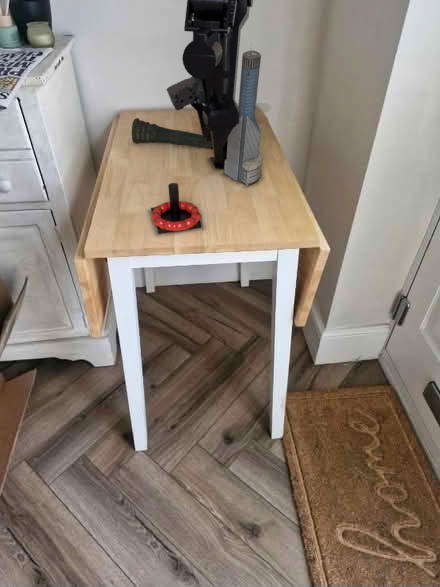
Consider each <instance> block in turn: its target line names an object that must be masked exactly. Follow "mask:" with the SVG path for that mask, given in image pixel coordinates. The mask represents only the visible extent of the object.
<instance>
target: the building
mask: <svg viewBox="0 0 440 587" xmlns="http://www.w3.org/2000/svg"><path fill="white" fill-rule="evenodd" d="M250 46H252V43H251V44H250ZM261 60H262V54H261V53H260V52H259V51H256V50H254V49H253V50H252V49H251V50H247V51H244V52H243V53H242V57H241V70H240V83H239V94H238V112H239V113H240V116H239V124H238V125H236V127H234V128H233V129H232V131H231V133H230V135H229V136H228V146H227V159H226V160H225V167H224V168H223V174H224V175H225V176H228V177H229V178H231V179H232V180H234V181H235V182H238V183H239V182H240V183H242V184H243V185H244V186H246V187H249V186H252V185H255V184H257V183H258V182H259V180H260V179H261V175H262V174H261V173H262V168H263V167H262V166H263V159H264V158H263V154H262V153H261V152H260V143H261V134H262V131H261V128H260V126H259V123H258V121H257V118H256V106H257V99H258V90H259V89H258V88H259V79H260V69H261Z"/></svg>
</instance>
